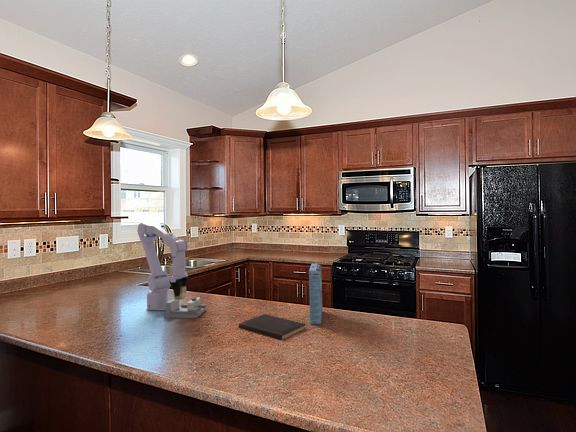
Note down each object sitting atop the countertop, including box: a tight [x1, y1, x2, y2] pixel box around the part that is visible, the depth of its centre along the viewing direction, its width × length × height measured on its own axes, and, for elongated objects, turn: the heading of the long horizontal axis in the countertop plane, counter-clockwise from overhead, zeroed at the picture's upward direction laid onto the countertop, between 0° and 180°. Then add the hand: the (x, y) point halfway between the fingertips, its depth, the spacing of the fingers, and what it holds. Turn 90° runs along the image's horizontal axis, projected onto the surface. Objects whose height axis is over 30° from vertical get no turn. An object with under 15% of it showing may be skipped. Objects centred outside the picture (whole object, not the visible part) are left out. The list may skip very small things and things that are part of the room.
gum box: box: [308, 263, 323, 325], centre depth 156 cm, size 20×5×23 cm, turn 172°
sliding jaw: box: [186, 296, 202, 311], centre depth 164 cm, size 3×9×6 cm, turn 174°
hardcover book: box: [238, 313, 307, 341], centre depth 144 cm, size 16×23×2 cm
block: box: [173, 285, 187, 301], centre depth 165 cm, size 4×5×5 cm
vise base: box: [164, 297, 207, 319], centre depth 165 cm, size 15×12×6 cm
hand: (179, 294), depth 165 cm, fingers closed on block, 5 cm apart
